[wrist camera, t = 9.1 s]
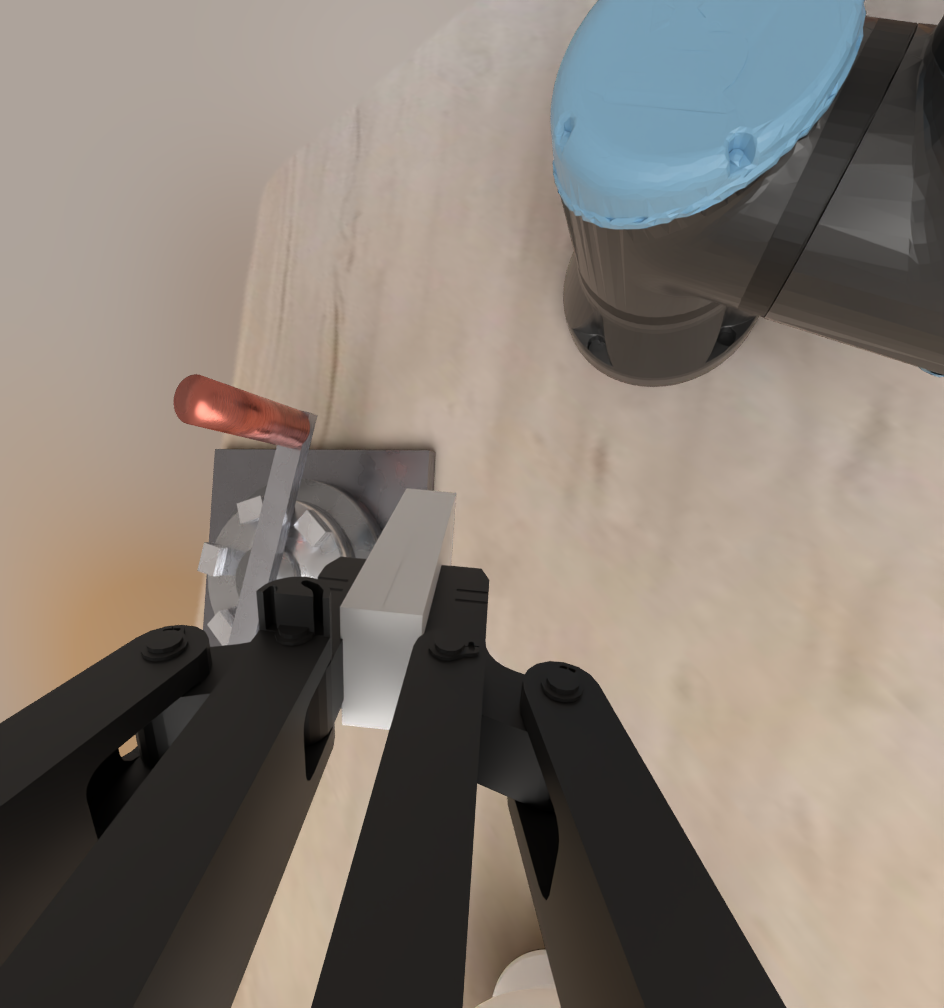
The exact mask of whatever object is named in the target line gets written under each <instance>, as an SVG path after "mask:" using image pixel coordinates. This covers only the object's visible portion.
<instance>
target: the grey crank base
mask: <svg viewBox="0 0 944 1008" xmlns="http://www.w3.org/2000/svg"><path fill="white" fill-rule="evenodd" d="M275 451H276V450H269V449H215V458H214V473H213V488H212V503H211V519H210V534H209V542H214V543H215V542H216V540H217V537H218V536H219V534H220V532H221V530H222V529H223V527H224V526H225V525H226V523H227V522H228V521H229V520H230V519H231V518H232V517H233V516H234V515H235V514H236V513H237V512H238V508H237V503H240V502H243V501H246V500H249V499H252V498H255V497H258V496H265V492H266V488H267V484H268V480H269V476H270V471H271V467H272V463H273V459H274V455H275ZM434 469H435V452H432V451H430V450H309V451H308V455H307V459H306V464H305V468H304V472H303V476H302V480H301V484H300V488H299V492H298V496H297V500H301V501H305V502H309V503H312V504H314V505H317V506H319V507H320V508H322V509H324V510H325V511H327V512H328V513H329V514H330V515H332V516H333V517H334V518H335V519H336V520H337V521H338V523H339V524H340V525H341V527H342V528H343V529H344V531H345V532H346V534H347V536H348V538H349V540H350V542H351V545H352V547H353V550H354V554H355V557H356V558H361V559H367V558H368V556H369V554H370V553H371V551H372V549H373V547H374V545H375V544H376V542H377V540H378V538H379V537H380V535H381V533H382V531H383V529H384V528H385V526H386V524H387V522H388V521H389V519H390V517H391V515H392V513H393V512H394V510H395V508H396V506H397V505H398V503H399V501H400V499H401V497H402V496H403V494H404V492H405V490H406V489H407V488H409V489H419V490H430V491H433V488H434ZM214 616H215V614H214V611H213V608H212V605H211V601H210V597H209V589H208V574H207V579H206V594H205V609H204V624H203V631H205V632H206V634H207V636H208V638H209V643H210V647H214V646H222V645H221V643H220V642H219V641H218V639H217V638H216V636H215V635H214V634H213V632H212V631H211V629H210V628H209V627H208V625H207V624H208V623H209V622H210V621H211V619H212V618H213V617H214ZM341 708H342V705H341Z"/></svg>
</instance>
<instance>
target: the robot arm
mask: <svg viewBox="0 0 944 1008" xmlns="http://www.w3.org/2000/svg"><path fill="white" fill-rule="evenodd" d="M864 1H865V0H598V1H597V2H596V4H595V5H594V6H593V7H592V9H591V10H590V11H589V13H588V14H587V16H586V17H585V18H584V20H583V21H582V23H581V25H580V26H579V28H578V29H577V31H576V33H575V34H574V36H573V38H572V40H571V42H570V44H569V46H568V48H567V50H566V53H565V55H564V57H563V60H562V62H561V65H560V68H559V71H558V74H557V77H556V81H555V85H554V90H553V95H552V102H551V134H552V145H553V156H554V160H553V175H554V178H555V184H556V186H557V188H558V193H559V194H560V196H561V199H562V204H563V208H564V212H565V216H566V220H567V224H568V228H569V233H570V237H571V241H572V245H573V249H574V252H573V255H572V257H571V260H570V262H569V265H568V268H567V272H566V276H565V282H564V292H563V301H564V311H565V316H566V320H567V323H568V326H569V329H570V333H571V335H572V338H573V340H574V342H575V344H576V346H577V347H578V349H579V351H580V352H581V353H582V355H583V356H584V357H585V358H586V359H587V360H588V361H589V362H590V363H591V364H592V365H593V366H594V367H595V368H597V369H598V370H599V371H601V372H602V373H604V374H606V375H607V376H609V377H611V378H613V379H616V380H618V381H621V382H624V383H628V384H632V385H638V386H647V387H658V386H668V385H674V384H679V383H682V382H686V381H689V380H692V379H694V378H697V377H699V376H701V375H703V374H705V373H707V372H709V371H711V370H712V369H714V368H715V367H717V366H718V365H720V364H721V363H722V362H724V361H725V360H726V359H727V358H729V357H730V356H731V355H732V354H733V353H734V352H735V351H736V350H737V349H738V348H739V346H740V345H741V344H742V343H743V341H744V340H745V339H746V337H747V336H748V334H749V333H750V331H751V329H752V328H753V326H754V324H755V323H756V321H757V319H758V317H759V316H762V317H764V318H766V319H769V320H772V321H775V322H778V323H781V324H785V325H788V326H791V327H794V328H797V329H800V330H804V331H807V332H810V333H813V334H816V335H819V336H822V337H826V338H829V339H832V340H835V341H838V342H841V343H844V344H848V345H851V346H854V347H857V348H860V349H863V350H867V351H870V352H873V353H876V354H879V355H882V356H885V357H889V358H892V359H895V360H898V361H901V362H904V363H908V364H911V365H914V366H917V367H919V368H920V369H921V370H923V371H924V372H927V373H929V374H931V375H934V376H937V377H944V16H943V17H942V19H941V21H940V22H939V24H938V25H933V24H922V23H918V24H917V23H912V22H905V21H897V20H890V19H883V18H876V17H869V16H866V11H865V7H864ZM455 504H456V493H451V492H441V491H430V490H419V489H409V488H407V489H406V490H405V492H404V494H403V496H402V497H401V499H400V501H399V503H398V505H397V506H396V508H395V510H394V512H393V513H392V515H391V517H390V519H389V521H388V522H387V524H386V526H385V528H384V529H383V531H382V533H381V535H380V537H379V538H378V540H377V542H376V544H375V545H374V547H373V549H372V551H371V553H370V554H369V556H368V558H367V559H361V558H351V557H339V558H337V559H336V560H334V561H332V562H330V563H329V564H327V565H326V566H325V567H324V568H323V570H322V571H321V573H320V574H319V575H318V578H317V579H315V578H310V577H287V578H282V579H277V580H274V581H272V582H269V583H267V584H265V585H263V586H262V587H261V588H259V589H258V590H257V591H256V595H257V607H258V619H259V631H258V633H257V634H256V635H255V637H254V638H253V639H252V640H251V642H247V643H241V644H233V645H224V646H214V647H210V643H209V638H208V636H207V634H206V632H205V631H203V630H201V629H199V628H198V627H194V626H187V625H186V626H185V625H175V626H167V627H163V628H159V629H156V630H152V631H149V632H147V633H145V634H143V635H141V636H139V637H137V638H135V639H134V640H132V641H131V642H129V643H127V644H126V645H124V646H122V647H121V648H119V649H118V650H116V651H115V652H113V653H111V654H110V655H109V656H107V657H105V658H103V659H102V660H100V661H99V662H97V663H96V664H94V665H92V666H91V667H89V668H87V669H86V670H84V671H83V672H81V673H80V674H78V675H76V676H75V677H73V678H72V679H70V680H68V681H67V682H65V683H64V684H62V685H61V686H59V687H57V688H56V689H54V690H52V691H51V692H50V693H48V694H46V695H45V696H43V697H41V698H40V699H38V700H37V701H35V702H34V703H32V704H30V705H29V706H27V707H25V708H24V709H22V710H21V711H19V712H18V713H16V714H14V715H13V716H11V717H10V718H8V719H6V720H5V721H3V722H2V723H0V1008H231V1006H232V1003H233V1001H234V998H235V996H236V993H237V990H238V988H239V985H240V983H241V980H242V978H243V975H244V973H245V970H246V968H247V965H248V962H249V960H250V957H251V955H252V952H253V950H254V947H255V945H256V942H257V940H258V937H259V935H260V932H261V929H262V927H263V924H264V922H265V919H266V917H267V914H268V912H269V909H270V907H271V904H272V901H273V899H274V896H275V894H276V891H277V889H278V886H279V884H280V881H281V879H282V876H283V873H284V871H285V868H286V866H287V863H288V861H289V858H290V856H291V853H292V851H293V848H294V845H295V843H296V840H297V838H298V835H299V833H300V830H301V828H302V825H303V823H304V820H305V818H306V815H307V812H308V810H309V807H310V805H311V802H312V800H313V797H314V795H315V792H316V790H317V787H318V784H319V782H320V779H321V777H322V774H323V772H324V769H325V767H326V764H327V762H328V759H329V756H330V754H331V751H332V749H333V746H334V739H335V726H334V722H335V720H336V717H337V715H338V713H339V710H340V708H341V705H342V725H348V726H358V727H367V728H376V729H385V730H389V734H388V737H387V741H386V744H385V748H384V751H383V755H382V758H381V762H380V766H379V769H378V773H377V776H376V780H375V783H374V787H373V790H372V794H371V797H370V801H369V805H368V808H367V812H366V815H365V819H364V822H363V826H362V829H361V833H360V836H359V840H358V843H357V847H356V851H355V854H354V858H353V861H352V865H351V868H350V872H349V875H348V879H347V882H346V886H345V889H344V893H343V897H342V900H341V904H340V907H339V911H338V914H337V918H336V921H335V925H334V928H333V932H332V936H331V939H330V943H329V946H328V950H327V953H326V957H325V960H324V964H323V967H322V971H321V974H320V978H319V982H318V985H317V989H316V992H315V996H314V999H313V1003H312V1006H311V1008H462V1007H463V992H464V976H465V961H466V946H467V930H468V915H469V900H470V884H471V869H472V854H473V838H474V823H475V808H476V792H477V783H478V784H480V785H482V786H485V787H487V788H489V789H491V790H494V791H496V792H498V793H501V794H503V795H505V796H507V799H508V807H509V811H510V815H511V819H512V823H513V826H514V830H515V834H516V838H517V842H518V846H519V849H520V853H521V857H522V861H523V865H524V868H525V872H526V876H527V880H528V884H529V888H530V891H531V895H532V899H533V903H534V907H535V911H536V914H537V918H538V922H539V926H540V930H541V933H542V937H543V941H544V945H545V949H546V953H547V956H548V960H549V964H550V968H551V972H552V975H553V979H554V983H555V987H556V991H557V995H558V998H559V1002H560V1006H561V1008H786V1006H785V1005H784V1003H783V1001H782V999H781V998H780V996H779V994H778V992H777V991H776V989H775V987H774V986H773V984H772V982H771V980H770V979H769V977H768V975H767V973H766V972H765V970H764V968H763V967H762V965H761V963H760V961H759V960H758V958H757V956H756V955H755V953H754V951H753V949H752V948H751V946H750V944H749V942H748V941H747V939H746V937H745V936H744V934H743V932H742V930H741V929H740V927H739V925H738V924H737V922H736V920H735V918H734V917H733V915H732V913H731V911H730V910H729V908H728V906H727V905H726V903H725V901H724V899H723V898H722V896H721V894H720V892H719V891H718V889H717V887H716V886H715V884H714V882H713V880H712V879H711V877H710V875H709V874H708V872H707V870H706V868H705V867H704V865H703V863H702V861H701V860H700V858H699V856H698V855H697V853H696V851H695V849H694V848H693V846H692V844H691V843H690V841H689V839H688V837H687V836H686V834H685V832H684V830H683V829H682V827H681V825H680V824H679V822H678V820H677V818H676V817H675V815H674V813H673V811H672V810H671V808H670V806H669V805H668V803H667V801H666V799H665V798H664V796H663V794H662V793H661V791H660V789H659V787H658V786H657V784H656V782H655V780H654V779H653V777H652V775H651V774H650V772H649V770H648V768H647V767H646V765H645V763H644V762H643V760H642V758H641V756H640V755H639V753H638V751H637V749H636V748H635V746H634V744H633V743H632V741H631V739H630V737H629V736H628V734H627V732H626V730H625V729H624V727H623V725H622V724H621V722H620V720H619V718H618V717H617V715H616V713H615V712H614V710H613V708H612V706H611V705H610V703H609V701H608V699H607V698H606V696H605V694H604V693H603V691H602V689H601V687H600V686H599V684H598V683H597V682H596V681H595V680H594V678H593V677H592V676H591V675H590V674H588V673H587V672H585V671H584V670H582V669H580V668H579V667H576V666H573V665H570V664H567V663H564V662H552V661H549V662H544V663H539V664H536V665H534V666H533V667H531V668H530V669H528V670H527V672H526V674H522V673H519V672H516V671H513V670H511V669H509V668H506V667H504V666H503V665H501V664H500V663H498V662H497V661H495V660H494V659H493V657H492V656H491V655H490V654H489V652H488V650H487V648H486V642H485V639H486V623H487V608H488V592H489V579H488V577H487V576H486V575H485V573H484V572H483V570H482V569H478V568H468V567H458V566H451V562H452V547H453V533H454V519H455ZM134 735H136V740H137V744H138V746H137V747H136V748H135V749H134V750H133V751H131V752H130V753H128V754H126V755H125V756H123V757H121V756H120V754H119V749H118V748H119V747H120V746H122V745H123V744H124V743H125V742H126V741H128V740H129V739H130V738H131V737H132V736H134Z"/></svg>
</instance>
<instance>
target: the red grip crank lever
mask: <svg viewBox="0 0 944 1008" xmlns="http://www.w3.org/2000/svg"><path fill="white" fill-rule="evenodd" d="M174 409H175V412H176V414H177V416H178V418H179V419H180V420H181V421H182V422H184V423H186V424H190V425H195V426H198V427H203V428H207V429H211V430H216V431H220V432H224V433H228V434H232V435H237V436H241V437H245V438H249V439H253V440H258V441H262V442H266V443H270V444H275V445H277V447H276V451H275V455H274V459H273V463H272V467H271V471H270V476H269V480H268V484H267V488H266V492H265V496H258V497H255V498H252V499H249V500H246V501H243V502H240V503H237V508H238V512H237V513H236V514H235V515H234V516H233V517H232V518H231V519H230V520H229V521H228V522H227V523H226V525H225V526H224V527H223V529H222V530H221V532H220V534H219V536H218V537H217V540H216V542H215V543H214V542H205V543H204V546H203V550H202V554H201V558H200V562H199V567H198V571H200V572H202V573H205V574H208V589H209V597H210V601H211V605H212V608H213V611H214V614H215V616H214V617H213V618H212V619H211V621H210V622H209V623H208V624H207V625H208V627H209V628H210V629H211V631H212V632H213V634H214V635H215V636H216V638H217V639H218V641H219V642H220V643H221V645H222V646H224V645H233V644H241V643H247V642H251V640H252V639H253V638H254V637H255V635H256V634H257V633H258V631H259V619H258V607H257V595H256V591H257V590H258V589H259V588H261V587H262V586H263V585H265V584H267V583H269V582H272V581H274V580H277V579H282V578H287V577H310V578H315V579H317V578H318V575H319V574H320V573H321V571H322V570H323V568H324V567H325V566H326V565H327V564H329V563H330V562H332V561H334V560H336V559H337V558H339V557H351V558H356V557H355V554H354V550H353V547H352V545H351V542H350V540H349V538H348V536H347V534H346V532H345V531H344V529H343V528H342V527H341V525H340V524H339V523H338V521H337V520H336V519H335V518H334V517H333V516H332V515H330V514H329V513H328V512H327V511H325V510H324V509H322V508H320V507H319V506H317V505H314V504H312V503H309V502H305V501H301V500H297V496H298V492H299V488H300V484H301V480H302V476H303V472H304V468H305V464H306V459H307V455H308V451H309V447H310V443H311V439H312V435H313V431H314V427H315V423H316V419H317V415H315V414H312V413H309V412H305V411H300V410H297V409H294V408H291V407H289V406H286V405H283V404H280V403H277V402H275V401H272V400H269V399H266V398H263V397H260V396H258V395H255V394H252V393H249V392H246V391H244V390H241V389H238V388H235V387H232V386H229V385H227V384H223V383H221V382H218V381H215V380H213V379H209V378H207V377H204V376H201V375H197V374H196V375H190V376H188V377H186V378H185V379H184V380H182V381H181V383H180V384H179V385H178V387H177V389H176V392H175V396H174Z"/></svg>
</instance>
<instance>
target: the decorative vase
mask: <svg viewBox="0 0 944 1008" xmlns="http://www.w3.org/2000/svg"><path fill="white" fill-rule="evenodd" d="M474 1008H561V1006H560V1002H559V998H558V995H557V991H556V987H555V983H554V979H553V975H552V972H551V968H550V964H549V960H548V956H547V953H546V949H544V950H536V951H532V952H529V953H526V954H524V955H521V956H520V957H518V958H516V959H515V960H514V961H512V962H511V963H510V964H509V965H508V966H507V967H506V968H505V970H504V971H503V972H502V974H501V975H500V977H499V979H498V981H497V984H496V986H495V989H494V993H493V996H492V998H491V999H488V1000H486V1001H484V1002H482V1003H481V1004H479V1005H477V1006H476V1007H474Z"/></svg>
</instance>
